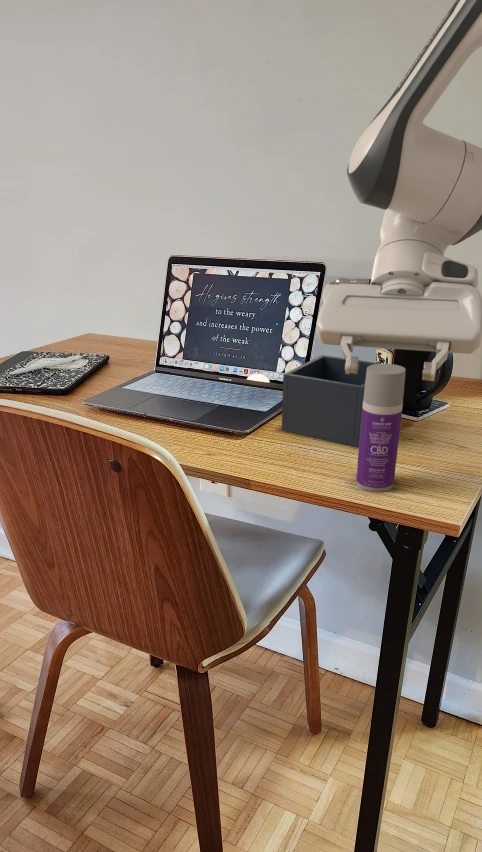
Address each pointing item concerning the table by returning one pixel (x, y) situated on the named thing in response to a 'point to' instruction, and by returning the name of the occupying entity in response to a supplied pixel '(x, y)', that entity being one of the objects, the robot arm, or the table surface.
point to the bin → (324, 400)
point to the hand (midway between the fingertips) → (388, 375)
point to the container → (380, 427)
